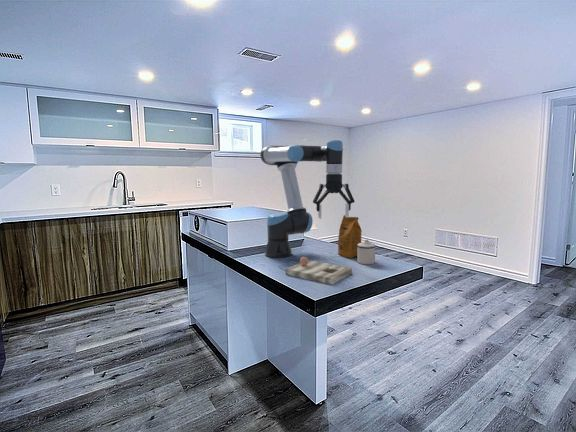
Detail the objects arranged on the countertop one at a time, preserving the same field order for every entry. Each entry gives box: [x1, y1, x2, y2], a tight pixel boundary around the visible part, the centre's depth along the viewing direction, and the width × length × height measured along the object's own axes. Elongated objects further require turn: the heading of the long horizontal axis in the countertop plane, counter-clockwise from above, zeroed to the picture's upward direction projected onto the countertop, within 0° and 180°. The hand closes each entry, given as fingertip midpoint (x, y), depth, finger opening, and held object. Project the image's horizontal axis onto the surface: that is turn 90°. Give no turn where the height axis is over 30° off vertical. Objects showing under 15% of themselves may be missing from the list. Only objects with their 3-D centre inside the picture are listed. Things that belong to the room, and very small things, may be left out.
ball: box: [299, 256, 309, 266], centre depth 148 cm, size 4×4×4 cm
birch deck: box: [285, 259, 353, 285], centre depth 144 cm, size 24×18×2 cm
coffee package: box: [337, 214, 362, 259], centre depth 174 cm, size 10×12×22 cm
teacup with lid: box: [356, 239, 377, 265], centre depth 162 cm, size 12×9×12 cm
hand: (333, 217), depth 154 cm, fingers open, 13 cm apart
